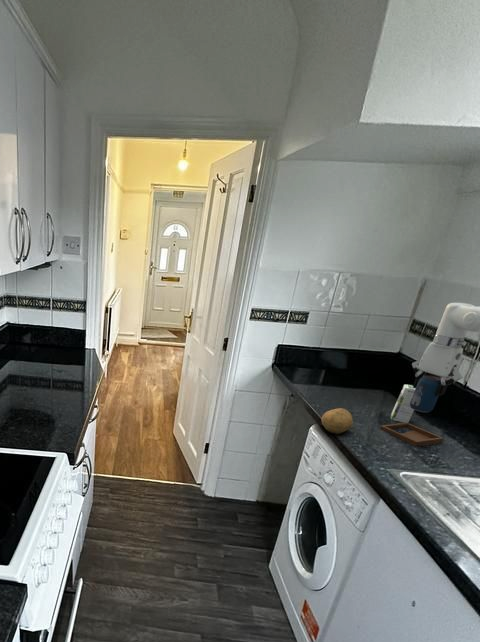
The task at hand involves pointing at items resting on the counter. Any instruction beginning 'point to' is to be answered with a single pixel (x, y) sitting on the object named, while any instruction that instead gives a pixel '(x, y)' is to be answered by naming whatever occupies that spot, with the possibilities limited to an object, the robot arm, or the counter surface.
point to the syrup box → (403, 405)
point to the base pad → (413, 435)
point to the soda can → (425, 393)
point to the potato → (337, 420)
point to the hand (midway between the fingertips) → (427, 391)
